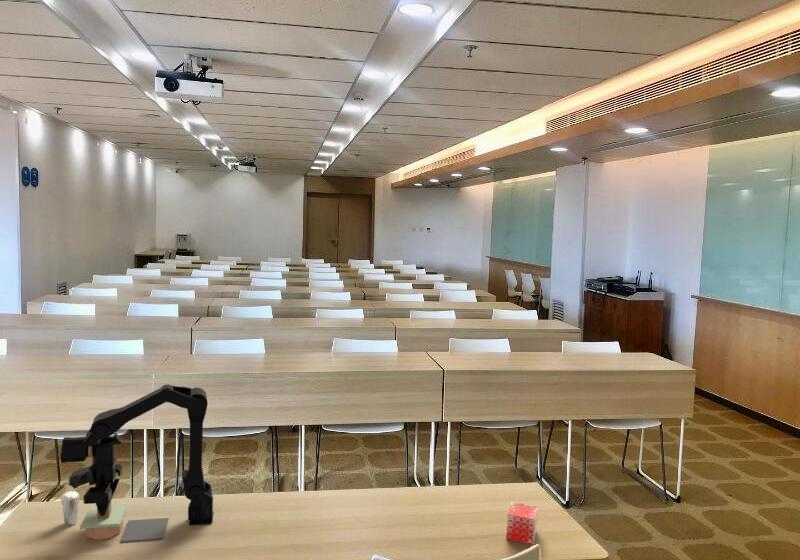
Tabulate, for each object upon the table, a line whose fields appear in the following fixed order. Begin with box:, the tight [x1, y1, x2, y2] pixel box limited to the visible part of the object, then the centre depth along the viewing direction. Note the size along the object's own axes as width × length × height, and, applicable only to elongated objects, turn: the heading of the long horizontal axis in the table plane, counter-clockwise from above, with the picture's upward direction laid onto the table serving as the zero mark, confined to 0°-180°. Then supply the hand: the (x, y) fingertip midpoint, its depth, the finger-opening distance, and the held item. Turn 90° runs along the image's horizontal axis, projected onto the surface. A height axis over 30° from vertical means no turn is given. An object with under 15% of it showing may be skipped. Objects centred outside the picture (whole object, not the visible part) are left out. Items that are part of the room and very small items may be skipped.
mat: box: [120, 517, 169, 544], centre depth 174 cm, size 11×11×1 cm
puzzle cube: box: [505, 501, 539, 545], centre depth 181 cm, size 8×8×8 cm
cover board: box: [79, 500, 128, 530], centre depth 172 cm, size 10×10×5 cm
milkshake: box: [61, 490, 81, 527], centre depth 175 cm, size 5×5×10 cm
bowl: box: [85, 518, 124, 541], centre depth 172 cm, size 9×9×4 cm
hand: (104, 511), depth 172 cm, fingers open, 4 cm apart
